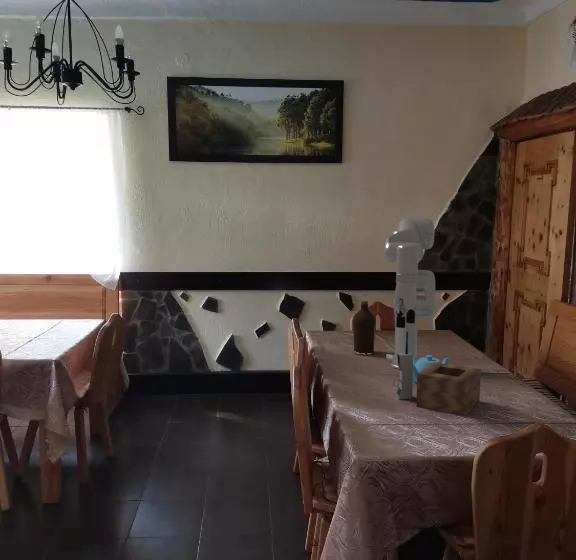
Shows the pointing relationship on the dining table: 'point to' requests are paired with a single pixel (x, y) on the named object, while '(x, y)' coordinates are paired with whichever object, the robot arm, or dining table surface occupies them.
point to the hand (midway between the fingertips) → (405, 325)
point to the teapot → (424, 364)
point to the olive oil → (364, 330)
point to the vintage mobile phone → (405, 373)
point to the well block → (448, 388)
